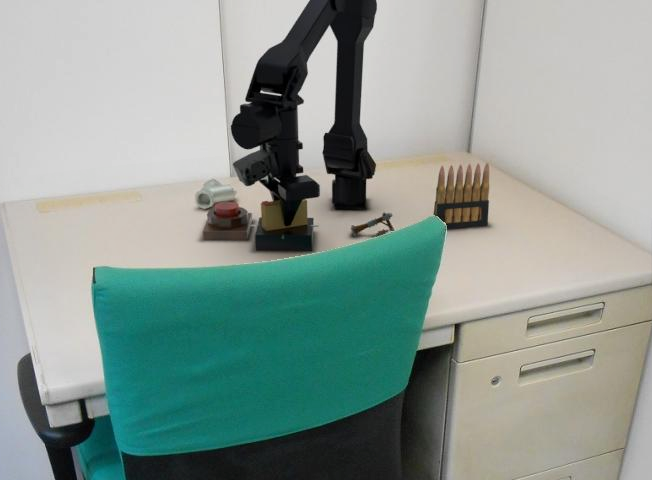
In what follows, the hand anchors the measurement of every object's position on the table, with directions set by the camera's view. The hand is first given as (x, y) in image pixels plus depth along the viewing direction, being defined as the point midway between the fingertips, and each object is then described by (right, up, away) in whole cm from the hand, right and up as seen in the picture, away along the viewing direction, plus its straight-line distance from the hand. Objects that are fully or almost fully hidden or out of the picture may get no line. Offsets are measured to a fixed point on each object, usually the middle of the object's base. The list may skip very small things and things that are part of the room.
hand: (284, 223), depth 151 cm
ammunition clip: (+33, +1, +10) cm, 34 cm away
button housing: (-11, 0, +6) cm, 13 cm away
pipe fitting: (-15, +8, +19) cm, 26 cm away
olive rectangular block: (0, 0, 0) cm, 0 cm away
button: (-11, +3, +5) cm, 12 cm away
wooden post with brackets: (+16, -1, +5) cm, 17 cm away
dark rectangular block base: (0, -3, +2) cm, 4 cm away
